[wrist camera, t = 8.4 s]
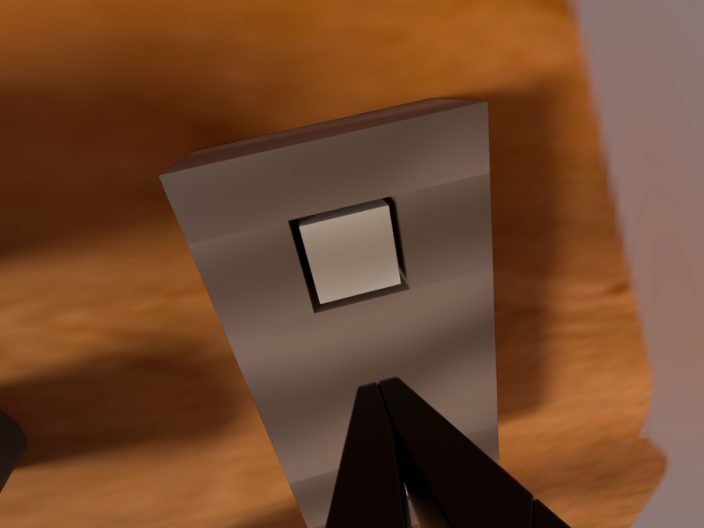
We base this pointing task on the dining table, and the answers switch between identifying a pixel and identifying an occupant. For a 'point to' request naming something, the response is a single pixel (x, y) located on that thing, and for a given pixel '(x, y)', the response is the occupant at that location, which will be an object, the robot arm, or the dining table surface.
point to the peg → (351, 250)
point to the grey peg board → (359, 310)
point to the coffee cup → (9, 447)
